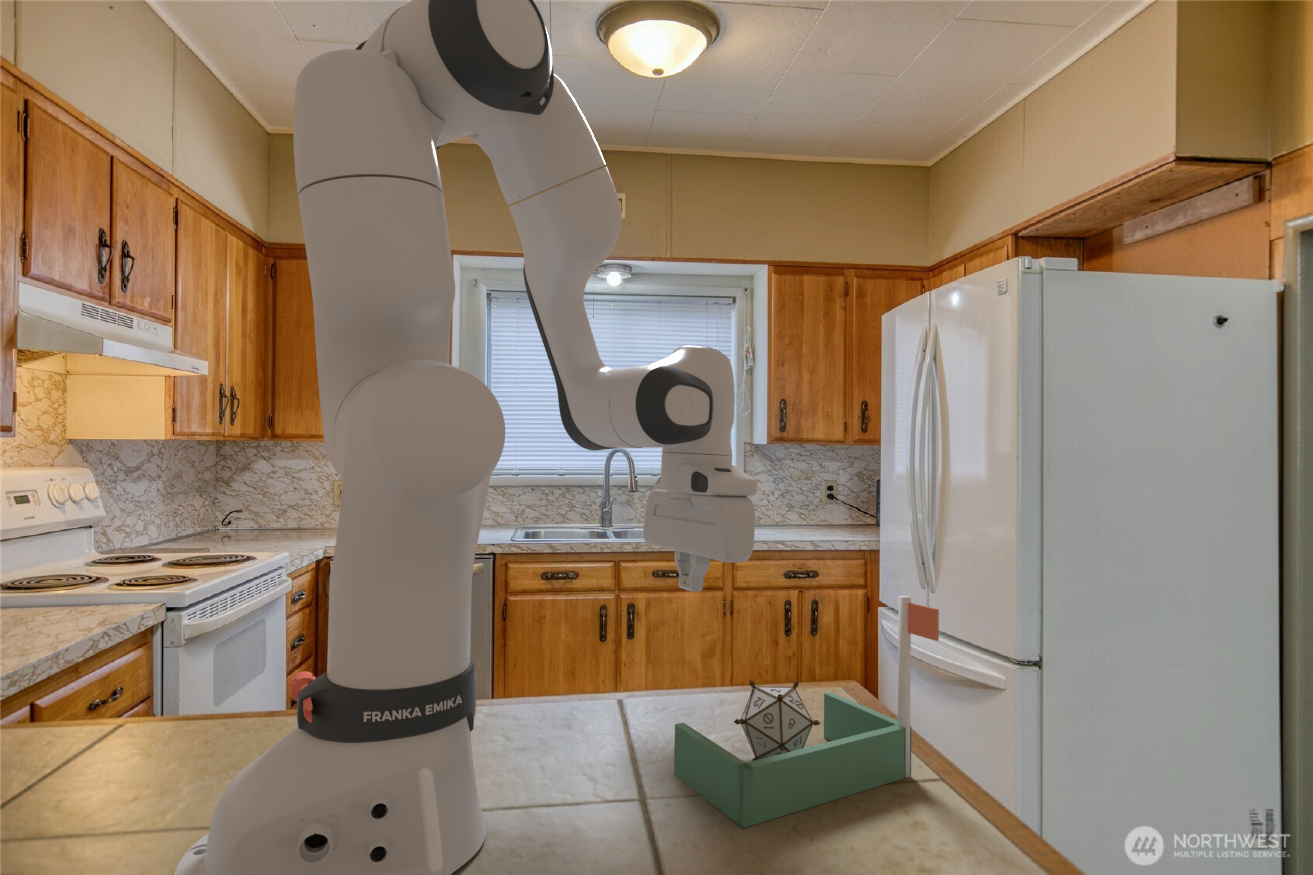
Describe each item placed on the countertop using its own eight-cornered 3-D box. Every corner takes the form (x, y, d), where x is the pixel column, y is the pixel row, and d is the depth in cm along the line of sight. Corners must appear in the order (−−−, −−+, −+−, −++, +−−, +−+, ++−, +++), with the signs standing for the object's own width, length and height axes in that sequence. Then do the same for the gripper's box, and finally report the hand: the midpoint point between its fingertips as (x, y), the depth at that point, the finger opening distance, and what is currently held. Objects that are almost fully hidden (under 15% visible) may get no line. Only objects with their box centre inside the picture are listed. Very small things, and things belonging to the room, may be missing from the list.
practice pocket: (768, 848, 57) (770, 627, 58) (674, 774, 70) (676, 594, 71) (941, 790, 68) (941, 603, 68) (830, 735, 81) (832, 578, 81)
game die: (783, 788, 76) (826, 705, 79) (797, 796, 68) (844, 702, 71) (712, 740, 78) (757, 660, 81) (718, 741, 70) (767, 653, 73)
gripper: (634, 474, 95) (629, 577, 94) (721, 480, 77) (715, 606, 77) (674, 476, 98) (669, 576, 97) (766, 482, 80) (761, 603, 80)
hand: (690, 589), depth 87 cm, fingers closed
